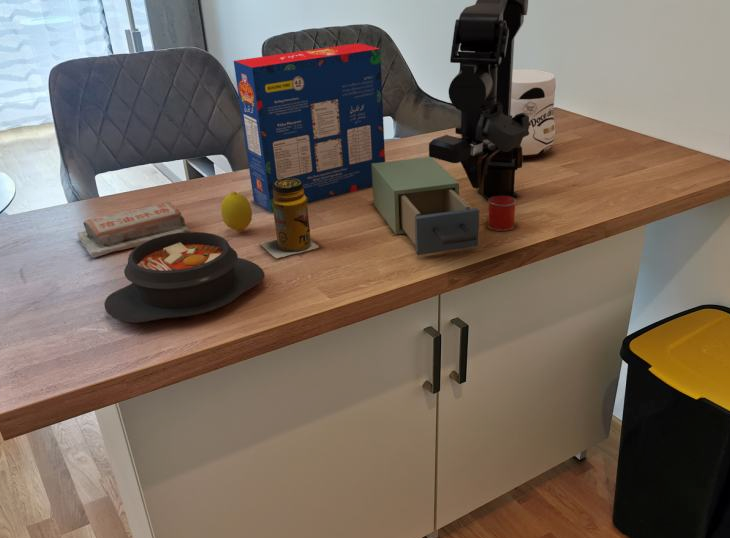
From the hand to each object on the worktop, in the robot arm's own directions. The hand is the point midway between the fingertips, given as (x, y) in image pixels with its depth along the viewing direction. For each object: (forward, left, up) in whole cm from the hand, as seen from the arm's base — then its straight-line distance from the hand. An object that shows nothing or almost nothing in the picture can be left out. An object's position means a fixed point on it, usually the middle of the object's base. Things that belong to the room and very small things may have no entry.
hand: (476, 187), depth 126 cm
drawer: (+6, -2, -10) cm, 12 cm away
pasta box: (+21, -36, -11) cm, 44 cm away
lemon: (+40, -20, -11) cm, 46 cm away
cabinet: (+6, -17, -11) cm, 21 cm away
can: (-8, -6, -11) cm, 15 cm away
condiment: (+32, -10, -11) cm, 36 cm away
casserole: (+51, +4, -11) cm, 52 cm away
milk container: (-30, -47, -11) cm, 57 cm away
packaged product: (+59, -24, -11) cm, 65 cm away
